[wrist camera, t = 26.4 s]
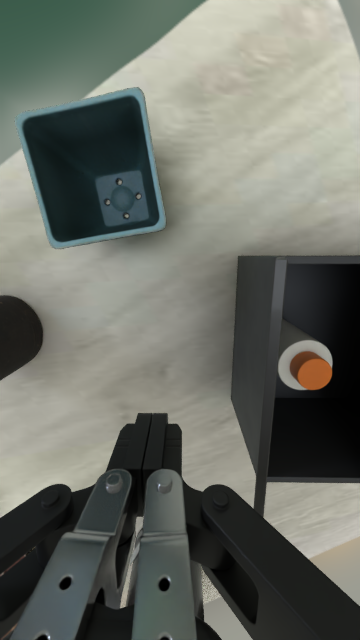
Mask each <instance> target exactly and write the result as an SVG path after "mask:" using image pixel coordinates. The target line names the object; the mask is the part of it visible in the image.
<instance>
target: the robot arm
mask: <svg viewBox="0 0 360 640" xmlns="http://www.w3.org/2000/svg"><path fill="white" fill-rule="evenodd" d="M143 516H144V521H143V529H142V530H141V531H140V532H139V534H138V536H137V538H136V531H135V523H136V518H137V517H143ZM135 538H136V543H135V550H134V552H133V554H132V551H133V547H134V542H135ZM34 547H36V548H35V549H34V550H32V551H31V552H30V553H29V554H27V555H26V556H25V557H24V558H23V559H21V560H20V561H19V562H18V563H16V564H15V565H14V566H13V567H12V568H10V569H9V570H8V571H7V572H6V573H4V574H3V575H2V576H1V577H0V639H1V638H2V637H3V636H4V635H5V634H6V633H7V632H9V631H10V630H11V629H12V628H13V627H14V626H15V625H16V624H17V625H16V627H15V629H14V630H12V631H11V632H10V633H9V634H8V635H7V636H5V637H4V638H3V639H2V640H222V639H221V638H220V637H219V635H218V634H217V633H216V632H215V631H214V630H213V629H212V628H211V627H210V626H209V625H208V624H207V623H205V622H204V609H203V591H202V571H201V566H202V569H203V570H204V572H205V573H206V575H207V576H208V578H209V579H210V580H211V582H212V583H213V585H214V586H215V587H216V589H217V590H218V592H219V593H220V594H221V596H222V597H223V599H224V600H225V601H226V603H227V604H228V606H229V607H230V608H231V610H232V611H233V612H234V614H235V615H236V617H237V618H238V619H239V621H240V622H241V624H242V625H243V626H244V628H245V629H246V631H247V632H248V634H249V635H250V636H251V638H252V639H253V640H360V606H359V605H358V604H356V603H355V602H354V601H353V600H352V599H351V598H350V597H349V596H348V595H347V594H346V593H344V592H343V591H342V590H341V589H340V588H339V587H338V586H337V585H336V584H335V583H334V582H332V581H331V580H330V579H329V578H328V577H327V576H326V575H325V574H324V573H323V572H322V571H321V570H319V569H318V568H317V567H316V566H315V565H314V564H313V563H312V562H311V561H310V560H309V559H307V558H306V557H305V556H304V555H303V554H302V553H301V552H300V551H299V550H298V549H297V548H296V547H294V546H293V545H292V544H291V543H290V542H289V541H288V540H287V539H286V538H285V537H284V536H282V535H281V534H280V533H279V532H278V531H277V530H276V529H275V528H274V527H273V526H272V525H270V524H269V523H268V522H267V521H266V520H265V519H264V518H263V517H262V516H261V515H260V514H258V513H257V512H256V511H255V510H254V509H253V508H252V507H251V506H250V505H249V504H248V503H246V502H245V501H244V500H243V499H242V498H241V497H240V496H239V495H238V494H237V493H236V492H235V491H233V490H232V489H231V488H229V487H227V486H225V485H219V484H216V485H211V486H209V487H207V488H206V489H205V490H204V491H203V492H201V491H198V490H195V489H193V488H191V487H189V486H188V485H187V484H186V483H185V482H184V480H183V478H182V431H181V429H180V427H179V426H178V424H168V413H138V415H137V419H136V422H135V424H126V425H125V426H124V427H123V428H122V430H121V431H120V433H119V436H118V440H117V442H116V445H115V447H114V450H113V453H112V456H111V458H110V461H109V464H108V467H107V470H106V472H105V473H104V474H102V475H101V476H100V477H99V479H98V480H97V482H96V484H94V485H93V486H91V487H88V488H86V489H82V490H79V491H75V492H71V489H70V488H69V487H68V486H67V485H64V484H55V485H51V486H49V487H47V488H45V489H43V490H41V491H40V492H38V493H37V494H35V495H34V496H32V497H31V498H29V499H28V500H26V501H25V502H24V503H22V504H21V505H19V506H18V507H16V508H15V509H13V510H12V511H10V512H9V513H7V514H6V515H4V516H3V517H1V518H0V575H1V574H2V573H3V572H4V571H5V570H7V569H8V568H9V567H10V566H12V565H13V564H14V563H15V562H17V561H18V560H19V559H20V558H21V557H23V556H24V555H25V554H26V553H28V552H29V551H30V550H31V549H32V548H34ZM130 559H131V561H130ZM132 562H133V566H132V571H131V577H130V583H129V589H128V595H127V601H126V607H124V608H121V609H120V603H121V597H122V592H123V588H124V584H125V580H126V576H127V571H128V567H129V563H130V565H131V563H132Z"/></svg>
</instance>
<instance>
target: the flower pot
mask: <svg viewBox="0 0 360 640" xmlns="http://www.w3.org/2000/svg"><path fill="white" fill-rule="evenodd" d="M15 125H16V129H17V132H18V136H19V139H20V142H21V145H22V149H23V152H24V156H25V159H26V162H27V166H28V169H29V172H30V176H31V179H32V183H33V186H34V190H35V193H36V196H37V200H38V204H39V207H40V211H41V215H42V218H43V222H44V225H45V230H46V234H47V238H48V240H49V243H50V245H51V246H52V247H53V248H54V249H63V248H68V247H74V246H79V245H85V244H90V243H95V242H101V241H106V240H112V239H117V238H123V237H128V236H134V235H140V234H145V233H151V232H157V231H161V230H163V229H164V228H165V226H166V216H165V211H164V206H163V201H162V195H161V190H160V185H159V179H158V174H157V168H156V163H155V157H154V151H153V145H152V139H151V133H150V127H149V121H148V115H147V109H146V102H145V96H144V94H143V92H142V90H141V89H140V88H138V87H134V88H127V89H124V90H120V91H115V92H111V93H107V94H104V95H99V96H96V97H91V98H87V99H83V100H78V101H73V102H69V103H64V104H60V105H56V106H51V107H46V108H41V109H36V110H31V111H25V112H22V113H20V114H19V115H17V116H16V117H15ZM118 179H121V180H122V184H121V185H118V184H117V180H118ZM138 193H139V194H141V198H140V199H137V198H136V194H138ZM107 199H108V200H109V201H110V204H109V205H107V204H106V203H105V201H106V200H107ZM125 213H128V214H129V218H125V217H124V214H125Z"/></svg>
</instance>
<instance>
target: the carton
mask: <svg viewBox="0 0 360 640" xmlns="http://www.w3.org/2000/svg"><path fill="white" fill-rule="evenodd" d="M277 257H285V258H287V259H288V266H287V276H286V287H285V297H284V307H283V319H284V320H286V321H287V322H289V323H290V324H292V325H294V326H295V327H297V328H298V329H300V330H301V331H303V332H305V333H306V334H308V335H309V336H311V337H312V338H314V339H316V340H317V341H319V342H320V343H322V344H323V345H325V346H326V347H327V348H328V350H329V351H330V353H331V356H332V377H331V379H330V381H329V383H328V384H327V385H326V386H324V387H323V388H321V389H317V390H309V389H308V390H297V389H293V388H291V387H289V386H287V385H286V384H285V383H284V382H283V381H282V380H281V379H280V378H279V376H278V375H277V380H276V390H275V401H274V411H273V421H272V432H271V442H270V453H269V463H268V473H267V482H304V483H360V256H238V269H237V288H236V308H235V328H234V348H233V368H232V388H231V400H232V403H233V406H234V409H235V412H236V416H237V419H238V422H239V425H240V428H241V431H242V434H243V437H244V440H245V443H246V446H247V449H248V452H249V455H250V458H251V461H252V464H253V467H254V470H255V473H256V474H257V462H258V450H259V438H260V427H261V415H262V403H263V391H264V379H265V367H266V355H267V343H268V331H269V319H270V307H271V295H272V283H273V272H274V260H275V259H276V258H277Z"/></svg>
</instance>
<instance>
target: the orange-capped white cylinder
mask: <svg viewBox="0 0 360 640" xmlns="http://www.w3.org/2000/svg"><path fill="white" fill-rule="evenodd" d="M277 375H278V376H279V378H280V379H281V380H282V381H283V382H284V383H285V384H286V385H287V386H289V387H291V388H293V389H297V390H308V389H309V390H317V389H321V388H323V387H324V386H326V385H327V384H328V383H329V381H330V379H331V377H332V356H331V353H330V351H329V350H328V348H327V347H326V346H325V345H323V344H322V343H320V342H319V341H317V340H316V339H314V338H312V337H311V336H309V335H308V334H306V333H305V332H303V331H301V330H300V329H298V328H297V327H295V326H294V325H292V324H290V323H289V322H287V321H286V320H284V319H283V318H282V328H281V338H280V349H279V359H278V370H277Z"/></svg>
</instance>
